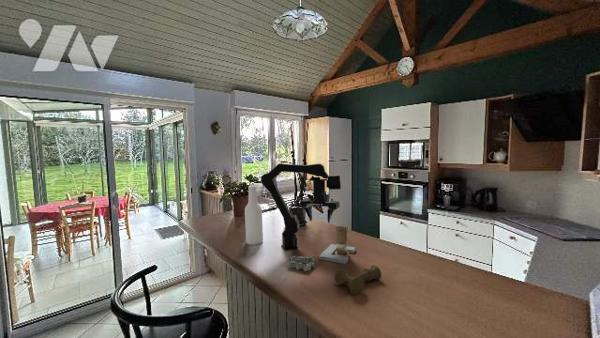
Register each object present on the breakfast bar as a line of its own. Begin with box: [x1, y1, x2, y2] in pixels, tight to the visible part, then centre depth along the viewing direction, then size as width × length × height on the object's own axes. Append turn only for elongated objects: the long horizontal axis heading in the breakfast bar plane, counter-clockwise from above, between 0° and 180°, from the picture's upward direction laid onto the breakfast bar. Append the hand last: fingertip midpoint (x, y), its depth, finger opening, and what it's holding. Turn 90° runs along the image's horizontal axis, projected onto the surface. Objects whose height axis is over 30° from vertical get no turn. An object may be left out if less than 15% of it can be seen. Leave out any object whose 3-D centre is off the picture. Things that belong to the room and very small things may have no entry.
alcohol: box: [244, 185, 264, 246], centre depth 141 cm, size 9×9×30 cm
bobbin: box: [334, 225, 350, 258], centre depth 121 cm, size 6×6×13 cm
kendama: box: [333, 264, 382, 296], centre depth 95 cm, size 6×10×20 cm
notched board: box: [318, 243, 356, 265], centre depth 122 cm, size 12×16×2 cm
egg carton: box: [286, 255, 316, 272], centre depth 111 cm, size 11×8×4 cm
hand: (319, 221), depth 131 cm, fingers open, 9 cm apart
